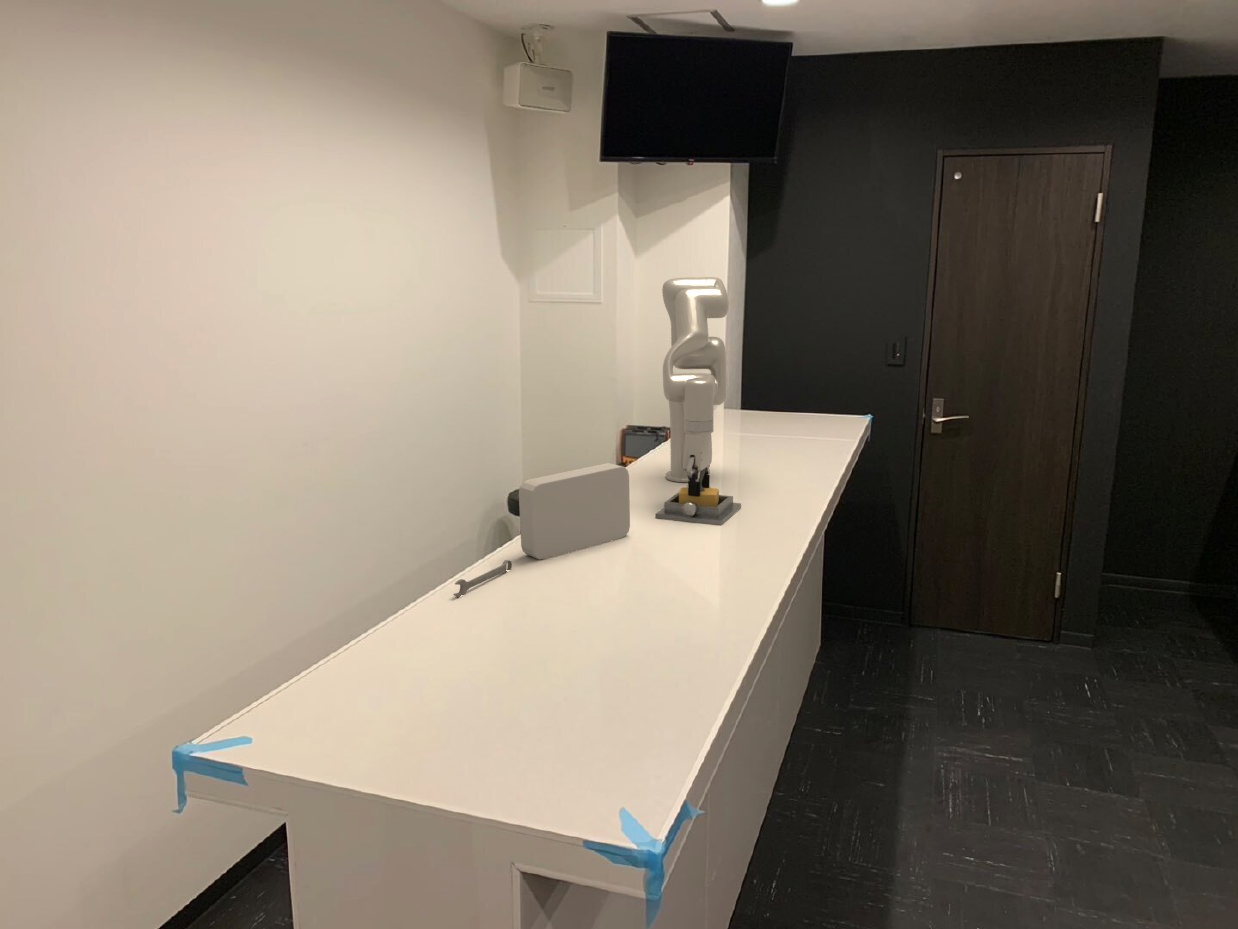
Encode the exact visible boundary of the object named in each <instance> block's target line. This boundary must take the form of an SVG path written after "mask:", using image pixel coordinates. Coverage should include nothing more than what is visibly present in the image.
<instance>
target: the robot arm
mask: <svg viewBox="0 0 1238 929" xmlns="http://www.w3.org/2000/svg"><path fill="white" fill-rule="evenodd" d="M661 291H662V299H663V304H664V306H665V309H666V312H667V314H668V316H669V321H670V327H671V328H670V336H671V337H670V338H671V340H670V341H671V343H670V344H671V345H670V348H669V350H668V352H667V353H666V355H665V356H664V359H663V363H662V364H663V365H662V387H663V394H664V398H665V399H666V400H667V401H668V404H669V421H670V422H669V427H670V430H669V431H670V433H669V434H670V435H669V436H670V438H669V439H670V444H669V445H670V471H667V472H666V473H665V478H666V480H668V481H672V482H677V483H687V487H688V495H689V496H696V497H699V496H700V481H699V477H700V471H701V470H703V469H704V468H706V471H705V474H704V476H703V479H702V483H701V484H702V487H703V488H710V472H711V470H710V467H711V464H712V460H713V459H712V458H713V440H712V433H714V406H720V405H722V404H724V402H725V400H726V396H727V352H726V346H725V343H724V340H722V338H720V337H718V336H709V328H708V319H721V318H725V317H726V315H727V314H728V311H729V295H728V293H727V289H726V287H725V285H724V282H723V280H722V279H721V278H719V277H710V276H709V277H708V276H707V277H676V278H674V277H673V278H671V279H668V280H666V281H665V282H663V285H662V290H661ZM674 367H675V368H676V369H679V370H709V371H710V373H703V372H702V373H701V372H700V373H699V372H698V373H691V372H690V373H674ZM693 468H698V469H697V470H696V469H693ZM693 472H696V473H697V474H696V475H695V473H693Z"/></svg>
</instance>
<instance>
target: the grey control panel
mask: <svg viewBox="0 0 1238 929" xmlns="http://www.w3.org/2000/svg"><path fill="white" fill-rule="evenodd" d="M518 505H519V528H520V544H521V545H520V547H521V550H522V552H523V553H525V555H528V556H529V557H531V558H534V559H536V560H541V559H544V560H546V559H545V558H547V559H551V558H554V556H555V557H558V556H561V554H562V555H564V553H566V554H568V552H569V553H572V551H573V552H575V551H576V550H577V551H581V550H583V548H584V549H587V547H588V548H591V547H594V546H598V545H601V544H606V543H609V542H612V541H611V540H613V541H617V540H619V539H623V538H625V537H626V536H627V535H628V534H629V532H630V528H631V516H630V514H631V511H630V508H631V506H630V505H631V504H630V474H629V470H628V469H627V468H626V467H625V466H622V465H618V464H614V463H610V462H606V463H603V464H602V463H600V464H596V465H591V466H587V467H582V468H578V469H573V470H568V471H564V472H558V473H553V474H549V475H543V476H540V477H534V478H530V479H527V480H525V481H522V483H521V485H520V486H519V489H518ZM590 546H591V547H590ZM557 555H558V556H557Z"/></svg>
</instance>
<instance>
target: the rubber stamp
mask: <svg viewBox="0 0 1238 929" xmlns="http://www.w3.org/2000/svg"><path fill="white" fill-rule="evenodd" d="M693 469H696V470H697V469H698V468H693ZM705 471H706V468H704V469H703V470H701V471H700V477H699V481H700V496H699V497H696V496H689V495H688V486H686V487H685V486H683V487H681V489H680V490H679V492H678V493H679V503H684V504H686V503H687V502H689V501H693V502H695V503H696V504H697V505H704V506H714V507H717V505H718V502H719V495H720V493H719V492H720V490H719V488H715V487H713V488H712V487H709V488H703V487H702V484H701V483H702V479H703V476H704V474H705ZM693 473H695V475H696V474H697V473H696V472H693Z"/></svg>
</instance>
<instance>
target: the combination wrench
mask: <svg viewBox="0 0 1238 929" xmlns="http://www.w3.org/2000/svg"><path fill="white" fill-rule="evenodd" d="M512 567H513V563H512V561H511V560H509V559H505V560H503V562H502V564H501V565H499V566H497V567H495V568H492V569H491V570H489V571H487V572H485V573H483V574H481V575H478V576H476V577H475V578H472V579H470V580H468V581H466V580H465V579H462V578H461V579H458V580H456V581H455V583H454V585H459V591H458V592H456V593H453V596H454V597H456V598H459V597H460V596H461V595H464V594H465V595H466V594H467V592H468V591H469V589H471V588H472V587H475V586H478V585H479V584H482V583H484V582H485V581H488V580H491V579H492V578H494V577H497V576H499V575H500V574H504V573H506V572H507V571H506V570H512ZM465 595H464V596H465ZM460 598H461V597H460Z"/></svg>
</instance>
